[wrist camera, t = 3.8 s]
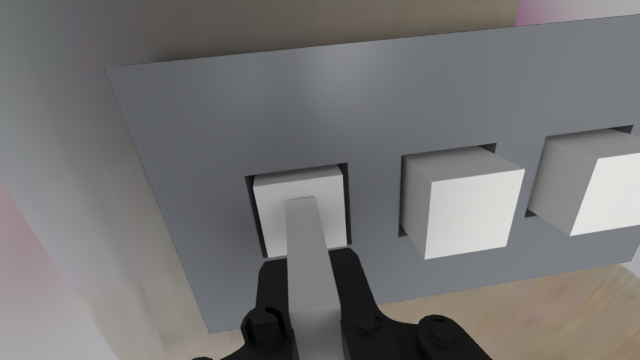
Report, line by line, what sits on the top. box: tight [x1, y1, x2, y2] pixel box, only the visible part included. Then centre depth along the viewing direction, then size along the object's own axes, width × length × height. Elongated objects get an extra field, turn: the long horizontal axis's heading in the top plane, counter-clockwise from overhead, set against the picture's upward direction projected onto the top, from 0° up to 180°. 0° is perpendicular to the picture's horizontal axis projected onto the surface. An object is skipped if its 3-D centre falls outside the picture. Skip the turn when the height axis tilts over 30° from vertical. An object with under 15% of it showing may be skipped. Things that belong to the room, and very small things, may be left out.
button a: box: [253, 164, 347, 258], centre depth 17 cm, size 4×4×4 cm
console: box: [104, 14, 640, 334], centre depth 18 cm, size 16×30×5 cm, turn 95°
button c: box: [527, 128, 640, 236], centre depth 16 cm, size 4×4×4 cm
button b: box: [399, 145, 525, 259], centre depth 15 cm, size 4×4×4 cm
